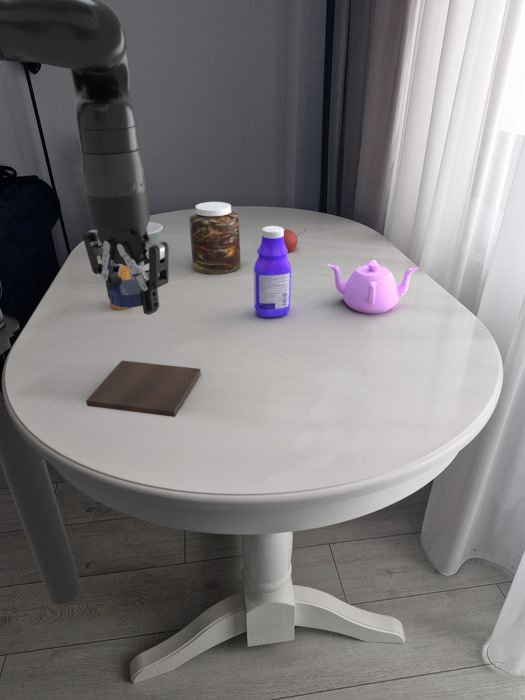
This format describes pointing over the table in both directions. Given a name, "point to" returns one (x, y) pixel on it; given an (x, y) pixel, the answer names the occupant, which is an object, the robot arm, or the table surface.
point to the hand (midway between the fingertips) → (134, 307)
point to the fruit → (290, 240)
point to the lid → (126, 293)
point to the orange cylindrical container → (125, 276)
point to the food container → (154, 231)
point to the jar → (215, 238)
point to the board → (145, 388)
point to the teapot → (371, 288)
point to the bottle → (272, 274)
